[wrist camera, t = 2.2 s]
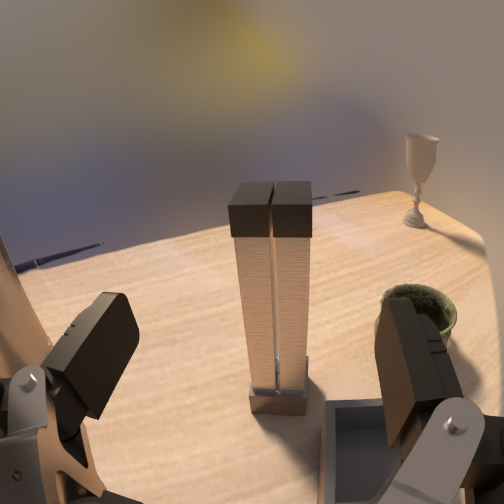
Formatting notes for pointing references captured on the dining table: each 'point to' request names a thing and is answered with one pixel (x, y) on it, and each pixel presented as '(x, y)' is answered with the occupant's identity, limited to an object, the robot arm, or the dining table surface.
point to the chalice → (419, 170)
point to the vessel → (426, 306)
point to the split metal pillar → (274, 289)
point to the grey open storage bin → (354, 452)
